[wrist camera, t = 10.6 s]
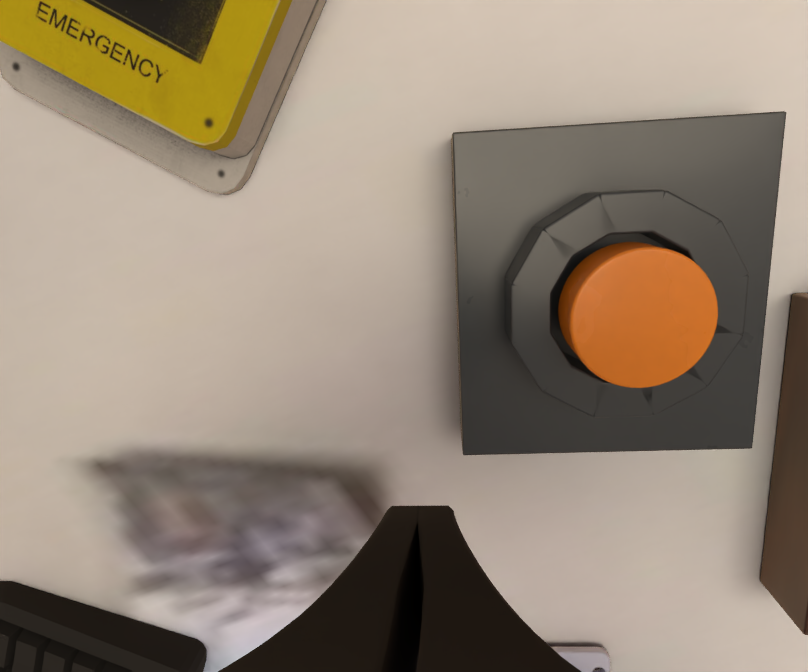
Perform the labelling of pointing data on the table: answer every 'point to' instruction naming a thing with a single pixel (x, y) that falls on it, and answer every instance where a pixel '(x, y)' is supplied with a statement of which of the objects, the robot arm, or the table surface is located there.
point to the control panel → (790, 479)
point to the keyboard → (84, 638)
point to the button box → (588, 232)
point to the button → (638, 314)
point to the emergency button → (163, 74)
